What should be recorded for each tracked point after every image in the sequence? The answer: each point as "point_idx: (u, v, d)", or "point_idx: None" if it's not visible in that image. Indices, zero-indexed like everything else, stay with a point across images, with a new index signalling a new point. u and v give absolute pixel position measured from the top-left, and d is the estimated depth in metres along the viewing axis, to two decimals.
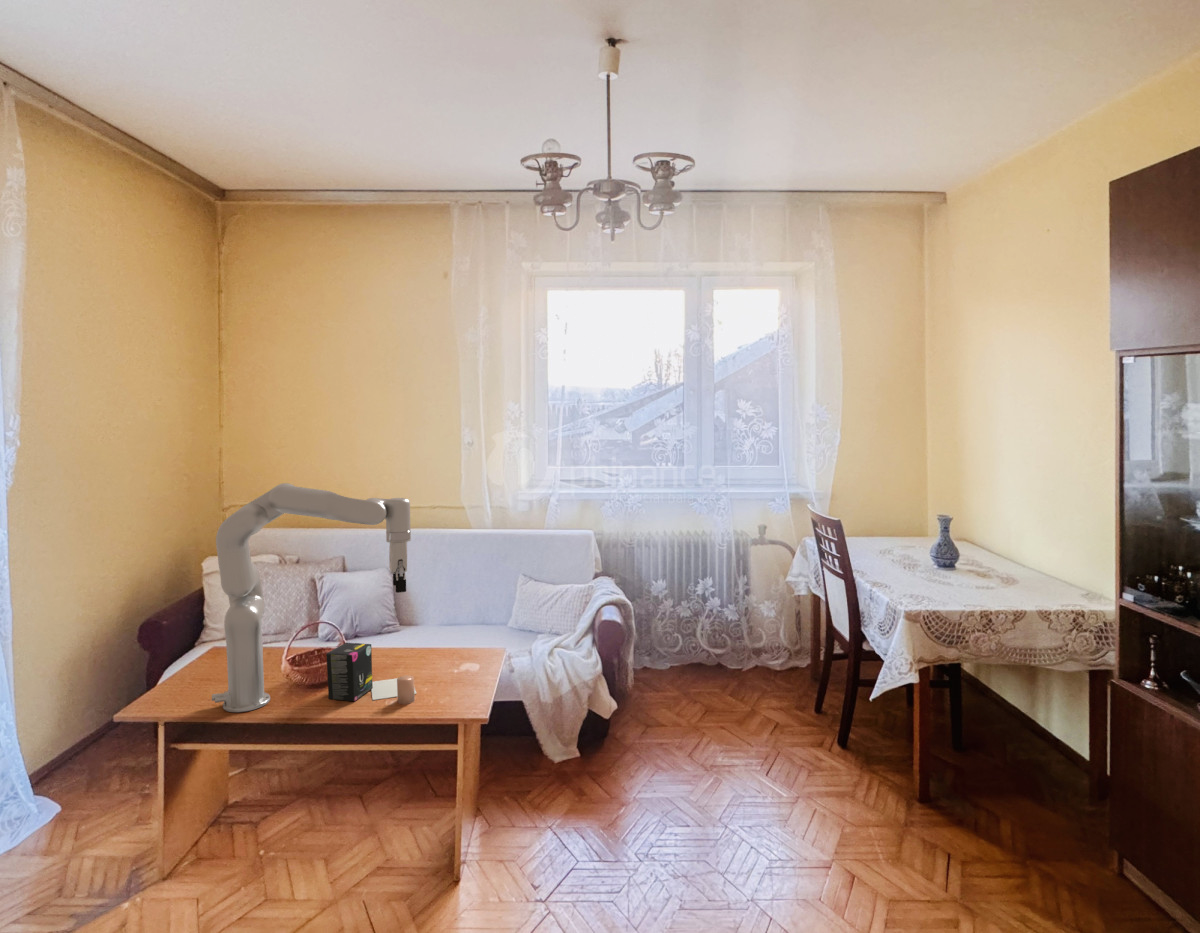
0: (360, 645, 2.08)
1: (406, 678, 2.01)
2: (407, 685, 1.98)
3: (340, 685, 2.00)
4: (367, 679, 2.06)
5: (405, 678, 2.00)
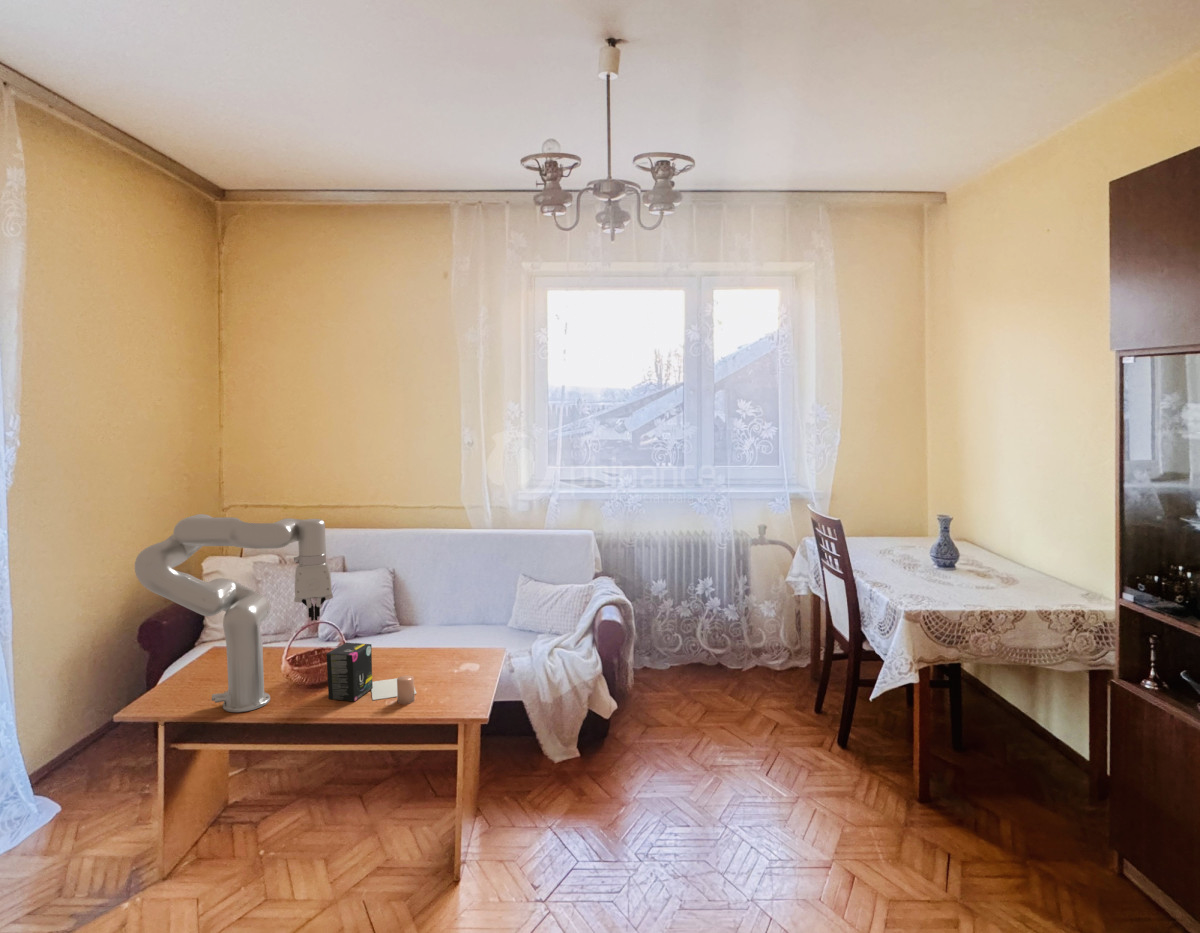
0: (361, 645, 2.08)
1: (406, 678, 2.01)
2: (407, 685, 1.98)
3: (340, 686, 2.00)
4: (367, 679, 2.06)
5: (405, 678, 2.00)
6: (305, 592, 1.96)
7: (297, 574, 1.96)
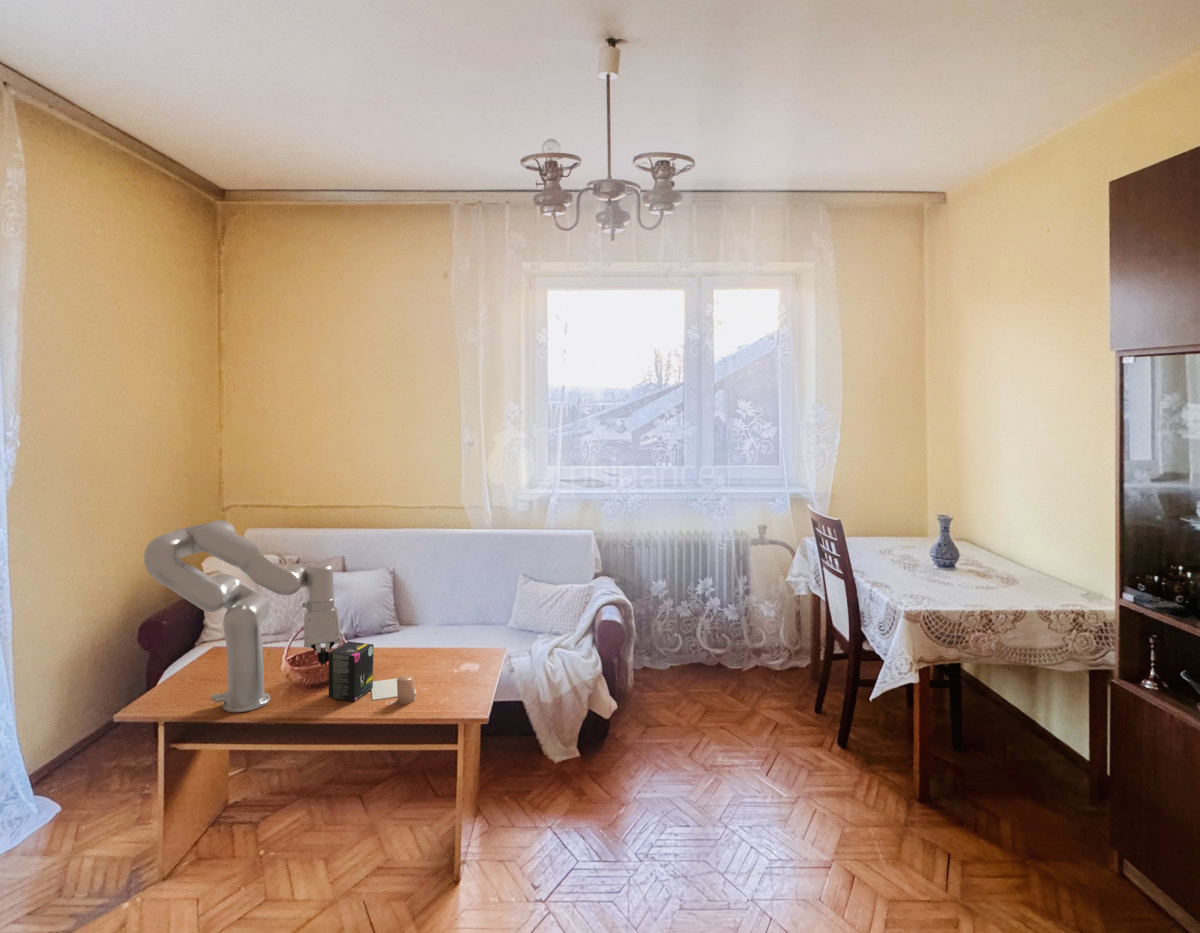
0: (363, 645, 2.07)
1: (406, 678, 2.01)
2: (407, 685, 1.98)
3: (341, 685, 2.00)
4: (368, 679, 2.06)
5: (405, 678, 2.00)
6: (314, 638, 1.98)
7: (306, 620, 1.97)
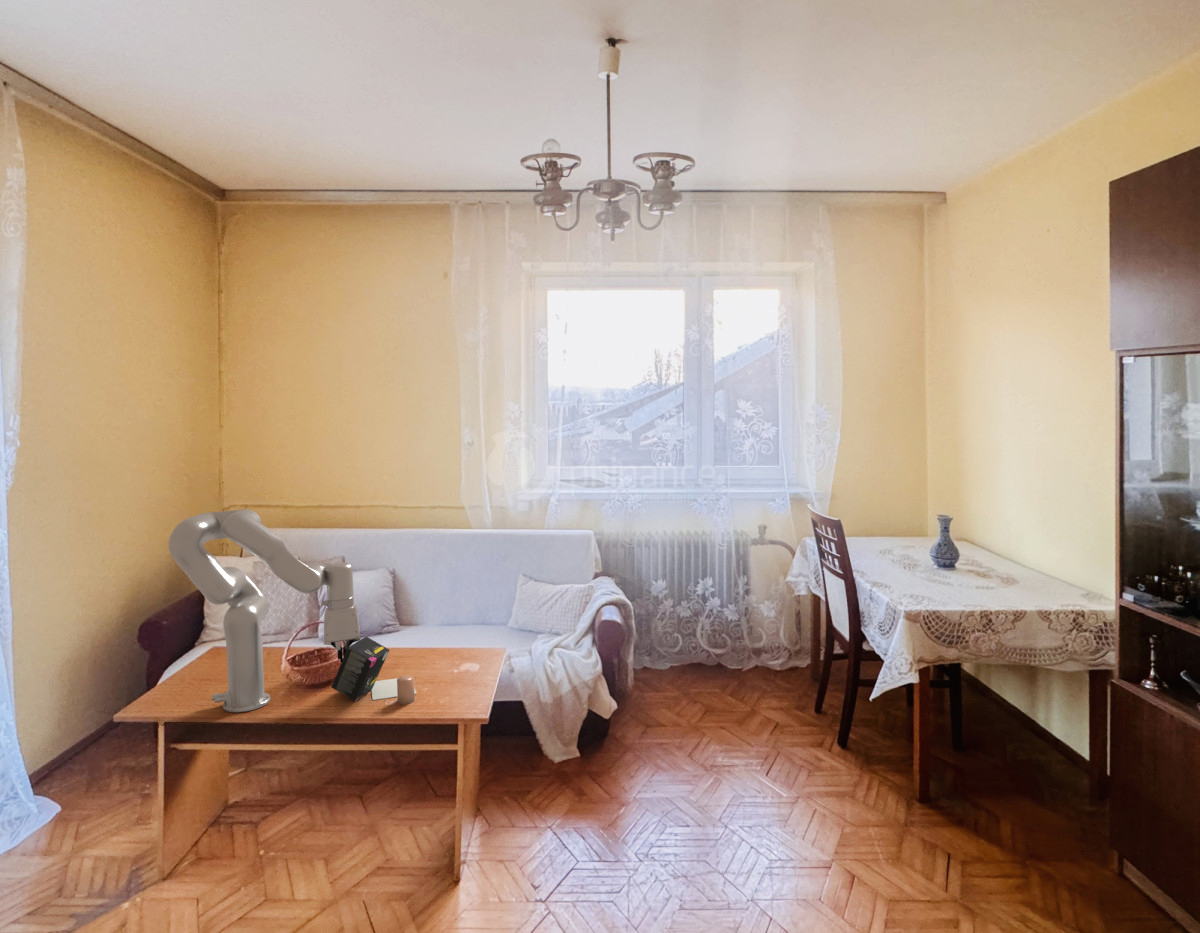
0: (380, 647, 2.06)
1: (406, 678, 2.01)
2: (407, 685, 1.98)
3: (348, 682, 1.99)
4: (372, 681, 2.06)
5: (405, 678, 2.00)
6: (334, 635, 2.00)
7: (326, 618, 1.99)
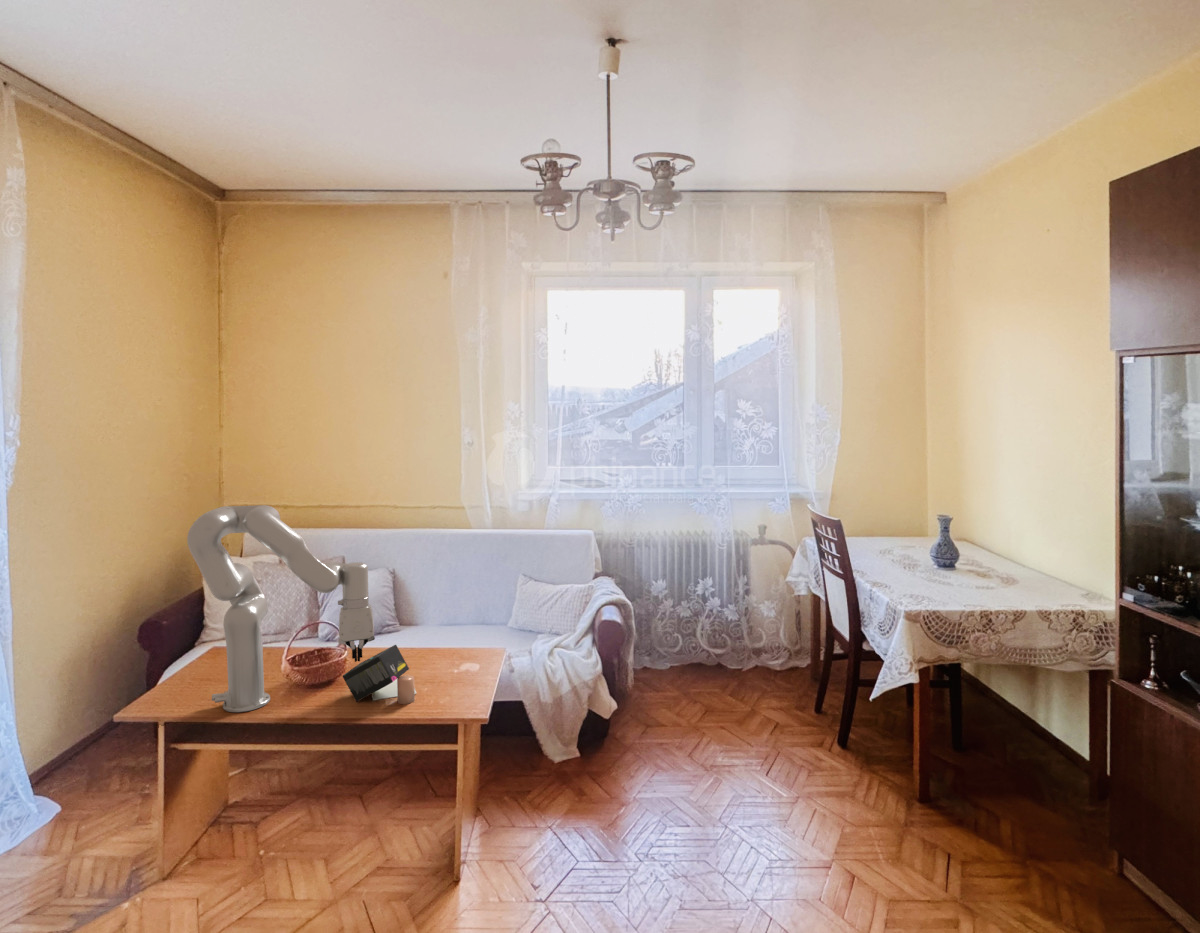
0: (402, 664, 2.05)
1: (407, 677, 2.01)
2: (407, 685, 1.98)
3: (360, 683, 1.99)
4: None
5: (405, 678, 2.00)
6: (349, 635, 2.02)
7: (341, 617, 2.01)
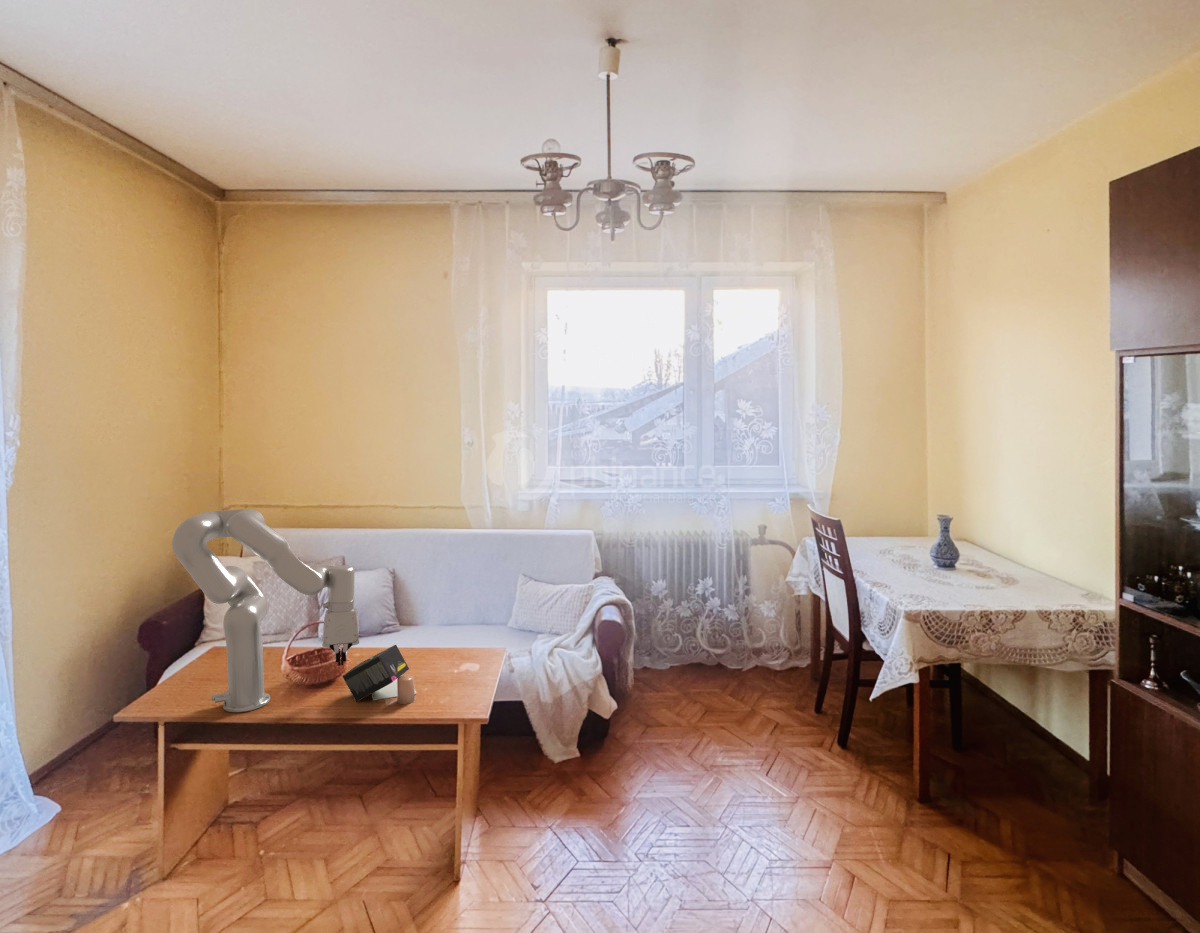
0: (403, 664, 2.05)
1: (407, 677, 2.01)
2: (407, 685, 1.98)
3: (360, 683, 1.99)
4: None
5: (405, 678, 2.00)
6: (333, 638, 2.00)
7: (326, 620, 2.00)
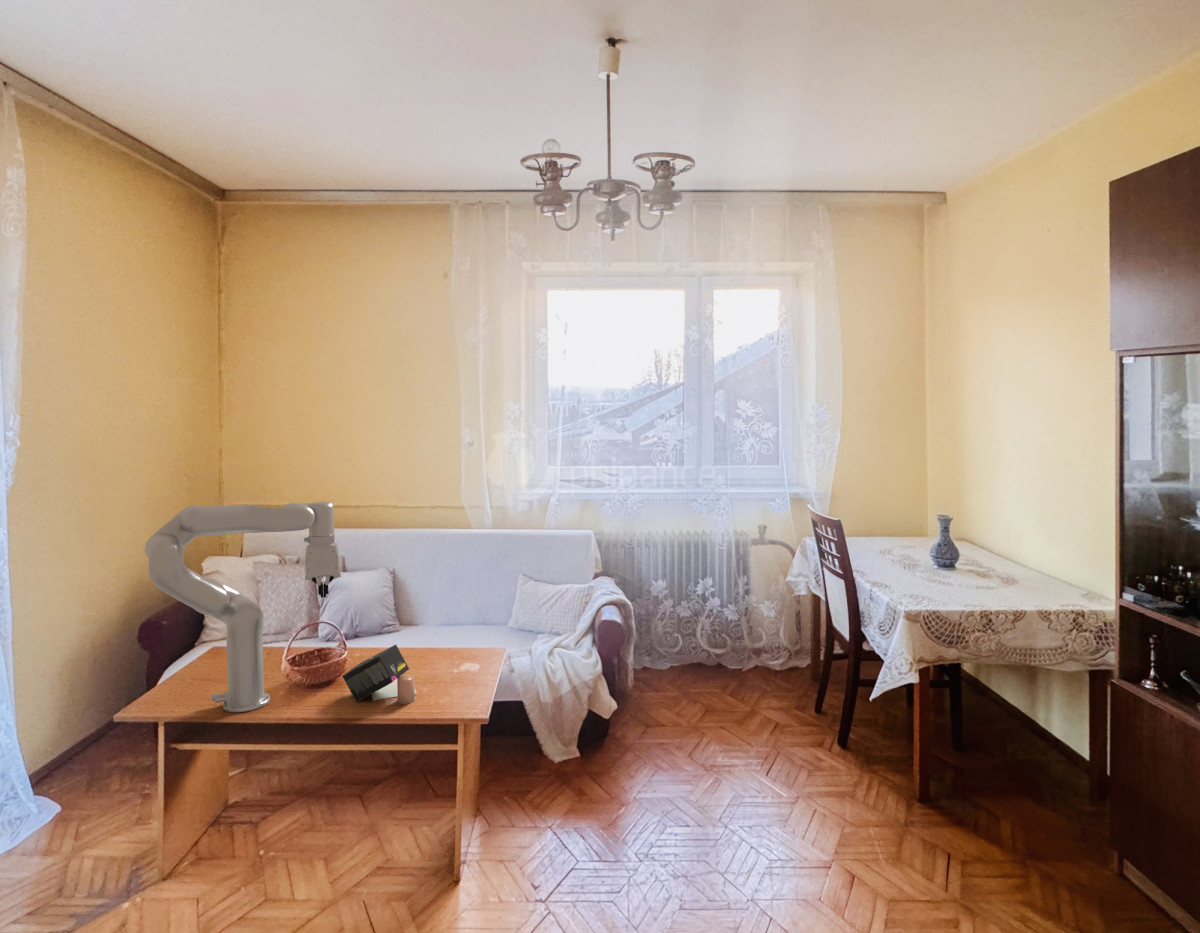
0: (403, 664, 2.05)
1: (407, 677, 2.01)
2: (407, 685, 1.98)
3: (360, 683, 1.99)
4: None
5: (405, 678, 2.00)
6: (315, 570, 2.08)
7: (307, 553, 2.07)
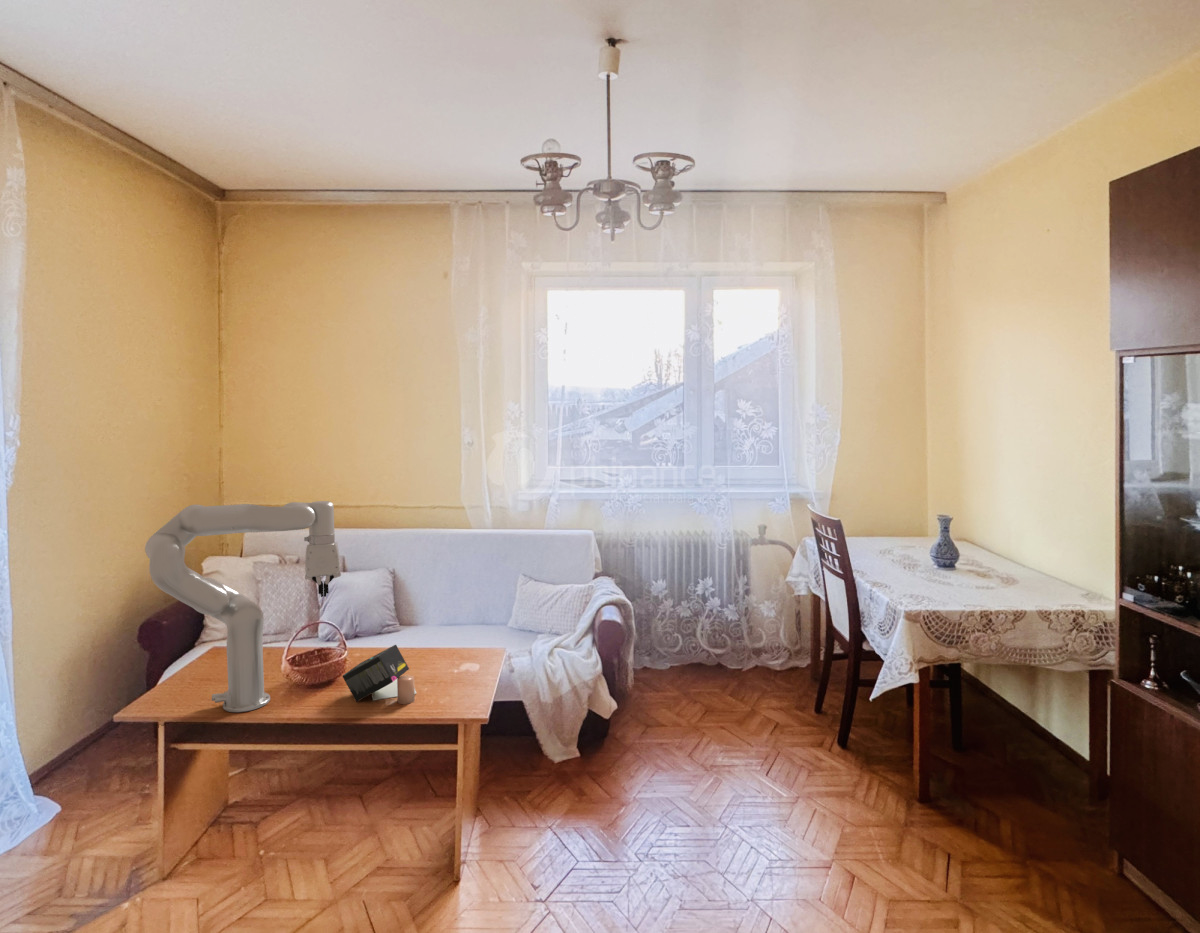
0: (403, 664, 2.05)
1: (407, 677, 2.01)
2: (407, 685, 1.98)
3: (360, 683, 1.99)
4: None
5: (405, 678, 2.00)
6: (315, 570, 2.08)
7: (307, 553, 2.07)
